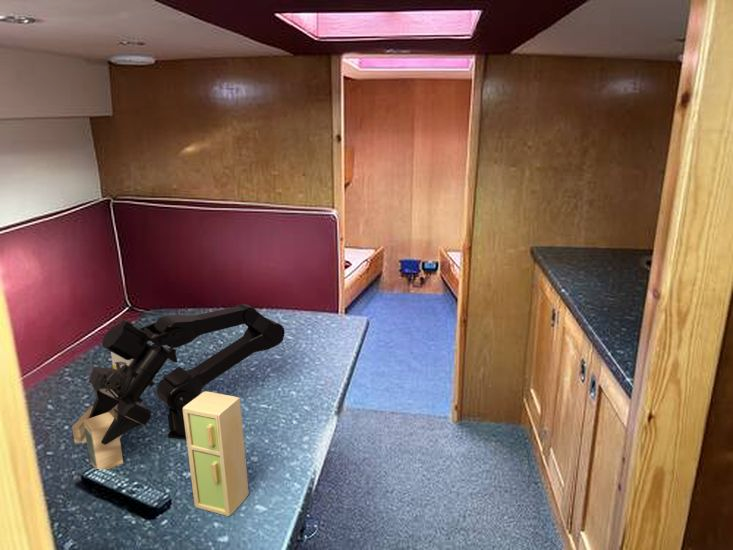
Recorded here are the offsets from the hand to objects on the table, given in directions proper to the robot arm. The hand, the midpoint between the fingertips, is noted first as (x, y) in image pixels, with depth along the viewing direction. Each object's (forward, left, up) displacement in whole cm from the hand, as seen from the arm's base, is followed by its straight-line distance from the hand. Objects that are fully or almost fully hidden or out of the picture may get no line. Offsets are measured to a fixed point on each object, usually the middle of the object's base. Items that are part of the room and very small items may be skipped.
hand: (95, 434), depth 114 cm
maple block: (-1, -1, -7) cm, 7 cm away
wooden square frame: (+7, -12, -7) cm, 16 cm away
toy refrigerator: (-30, +7, -7) cm, 32 cm away
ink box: (+15, -35, -7) cm, 39 cm away
